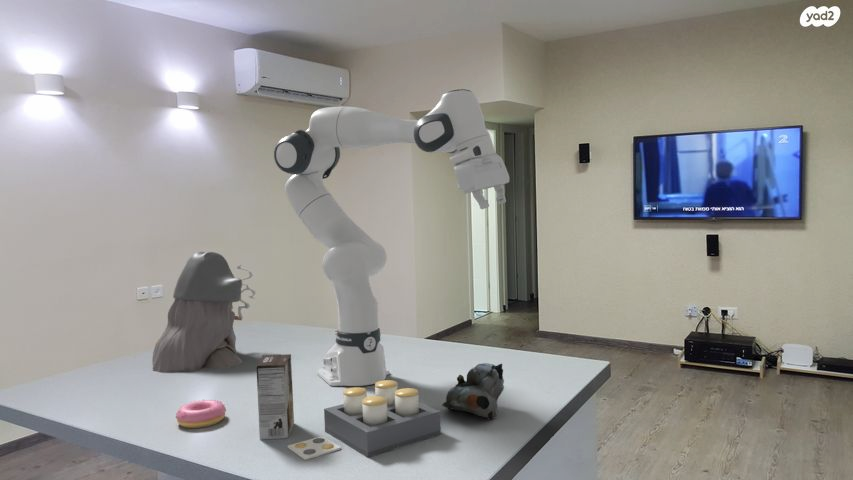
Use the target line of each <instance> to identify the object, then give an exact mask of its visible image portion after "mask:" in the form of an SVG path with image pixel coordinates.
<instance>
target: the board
mask: <svg viewBox="0 0 853 480" xmlns="http://www.w3.org/2000/svg"><path fill="white" fill-rule="evenodd" d="M323 411H324V412H323V416H324V419H323V420H324V431H325V433H327V434H329V435H331V436H332V437H334V438H335V439H337V440H339V441H340V442H341V443H344V444H345V445H346V446H348V447H350V448H351V449H353V450H355V451H356V452H358V453H360V454H362V456H364V457H366V458H371V457H374V456H377V455H380V454H383V453H386V452H390V451H393V450H396V449H399V448H403V447H405V446H409V445H412V444H415V443H418V442H422V441H424V440H427V439H431V438H434V437H437V436H440V435H441V434H442V431H441V430H442V429H441V425H442V424H441V410H439V409H436V408H433V407H431V406H428V405H426V404H424V403H421V402H419V413H418V414H415V415H411V416H408V417H404V418H403V417H401V416H399V415H397V414H396V410H395V405H392V406H388V407H387V420H388V422H386V423H383V424H379V425H376V426H372V427H369V426H367V425H366V424H364V423H363V413H361V414H358V415H354V416H349V415H347V414H345V413H344V403H342V404H338V405H334V406H330V407H326V408H323Z"/></svg>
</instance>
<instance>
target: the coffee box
mask: <svg viewBox="0 0 853 480" xmlns="http://www.w3.org/2000/svg"><path fill="white" fill-rule="evenodd" d="M291 355H292V354H290V353H289V354H280V353H279V354H278V353H277V354H274V353H273V354H264V355H262V357H261V358H260V360H259V361H258V362H257V364H256V386H257V407H258V429H259V430H258V431H259V440H261V441H262V440H275V439H289V438H290V436H291V432H292V430H293V426H294V424H295V417H294V416H295V413H294V393H293V391H294V389H293V374H292V356H291Z"/></svg>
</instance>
